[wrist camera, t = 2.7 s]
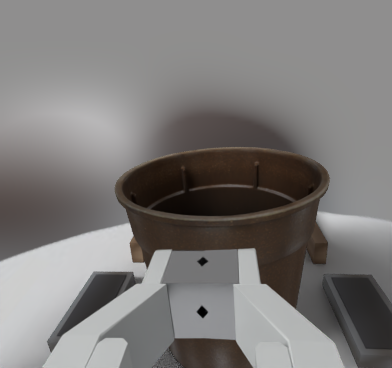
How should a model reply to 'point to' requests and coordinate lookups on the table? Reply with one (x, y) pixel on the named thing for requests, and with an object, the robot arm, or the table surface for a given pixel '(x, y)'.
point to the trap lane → (333, 285)
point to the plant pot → (227, 220)
